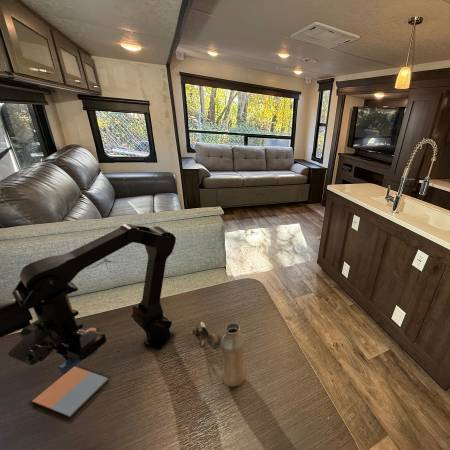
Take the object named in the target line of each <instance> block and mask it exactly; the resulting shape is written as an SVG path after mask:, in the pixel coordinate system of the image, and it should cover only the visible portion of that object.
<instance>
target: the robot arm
mask: <svg viewBox="0 0 450 450" xmlns="http://www.w3.org/2000/svg"><path fill="white" fill-rule="evenodd" d="M176 241H177V238H176V236H175V235H174V234H173V233H172V232H170V231H168V230H166V229H165V228H163V227H161V226H152V227H149V226H144V225H134V224H131V223H125V224H124V223H123V224H122V225H120V226H119V228H117V229H115V230H112V231H110V232H108V233H106V234H104V235H102V236H100V237H98V238H96V239H93V240H92V241H90V242H88V243H85V244H84V245H81V246H79V247H77V248H75V249H73V250H71V251H68V252H65V253H63V254H57V255H50V256H47V257H44V258H41V259H38V260H36V261H32V262H30V263H28V264H27V265H25V266H24V267H23V268H22V269H21V271H20V273H19V279H20V280H19V281H18V283H17V285H16V286H15V288H14V289H13V290H12V292H11V294H12V296H13V298H12V299H9V300H6V301H3V302H0V339H1V338H4V337H6V336H8V335H11V334H14V333H16V332H19V331H20V330H21V331H20V333H19V335H20V337H21V340H19V342H18V343H16V344H15V345H14V346H13V347H12V348H11V349H10V350H9V351H8V353H7V356H9V357H11V358H13V359H14V360H17V361H19V362H21V363H24V364H26V365H29V366H34V365H36V364H37V363H41V362H43V361H44V360H46V359H47V358H48V356H49V355H50V354H52V352H53V351H54V350H55V351H56V352H55V353H56V354H59V355H60V356H61V357H62V358H63V359H65V361H67V360H68V359H70V361H71V362H72V363H75V362H76V361H78V360H79V361H80V362H82V361H84V360H86V359H87V358H88V357H90V356H89V355H91V354H92V353H93V352H94V351H96V350H97V349H98V350H99V349H100V348H101V347H102V346H103V345H104V344H106V343H107V337H106V334H105V333H103V332H100V331H93V330H89V331H88V332H86V330H84V331H83V329H82V328H83V327H84V326H83V325H84V324H83V323H80V322H77V319H76V317H77V316H78V315H80V313H79V310H77V309H74V308H73V306H72V304H71V301H70V298H69V295H70V294H72V293H75V292H77V291H78V290H79V287H78V286H76V284H75V283H74V282H73V280H74V279H75V277H76V276H77V275H78V274H79V273H80V272H81V271H83V270H84V269H86V268H88V267H90V266H91V265H94V264H95V263H97V262H99V261H101V260H103V259H104V258H107V257H108V256H110V255H112V254H114V253H116V252H117V251H120V250H121V249H124V248H125V247H126V246H129V245H130V244H133V243H134V244H140V245H143V246H144V248H145V251H146V254H147V263H146V269H145V277H144V285H143V292H142V298H141V301H140V302H139V303H138V304H134V305H133V306H132V313H131V316H130V317H131V318H132V319H133V321H134V322H135V323H136V324H137V325H138V326H139V327H140V328H141V329H142V330H143V331H144V332H145V336H146V338H147V339H145V341H143V344H144V345H146V346H149V347H151V348H155V349H158V350H161V349H162V348H163V347H164V346H165V345H166V344H167V343H168V342H169V341H170V340H171V339H172V338H173V337H174V335H175V333H174V332H172V331H170V328H171V327H172V324H173V321H172V320H171V319H170V318H168V317H167V316H166V315H165V314H164V311H163V307H162V305H161V298H162V297H161V296H162V291H163V290H162V289H163V284H164V277H165V270H166V263H167V259H168V258H169V257H170V256H171V255H172V253H173V251H174V249H175V246H176V243H177V242H176ZM32 308H33V311H34V314H35V316H36V318H37V320H34V318H33V314H32V313H31V311H30V309H32ZM33 320H34V321H33ZM31 321H33V322H31ZM98 350H97V351H98ZM91 356H92V355H91ZM81 360H82V361H81Z"/></svg>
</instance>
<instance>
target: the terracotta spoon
mask: <svg viewBox="0 0 450 450" xmlns="http://www.w3.org/2000/svg"><path fill="white" fill-rule="evenodd" d="M82 330H83V331H86V332H88V331H89V330H93V331H97V328H96V327H89V328H87V329H86V330H85V329H84V328H83V329H82ZM97 332H98V331H97Z"/></svg>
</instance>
